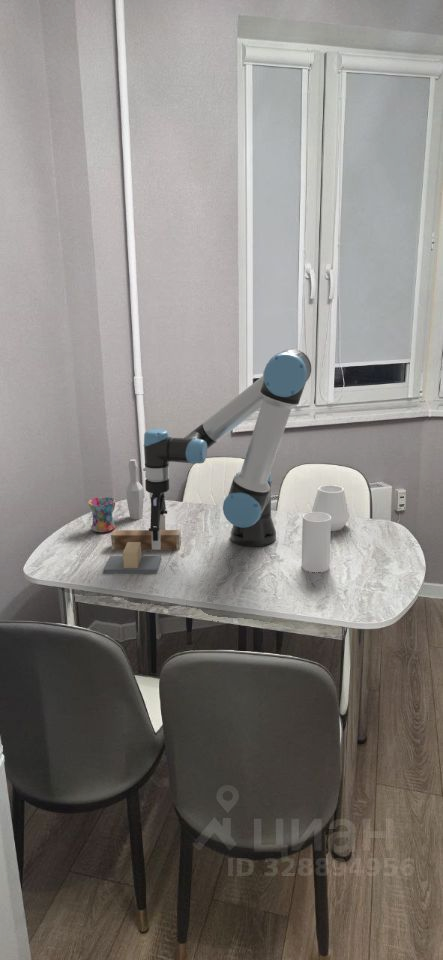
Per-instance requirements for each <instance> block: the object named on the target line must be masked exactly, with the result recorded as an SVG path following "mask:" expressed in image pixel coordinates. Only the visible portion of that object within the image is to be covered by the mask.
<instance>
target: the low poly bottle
mask: <svg viewBox="0 0 443 960" xmlns="http://www.w3.org/2000/svg"><path fill="white" fill-rule="evenodd" d="M138 465H139V464H138V461H137V459H133V458H132V459H130V460H129V463H128V469H129V480H130V481H129V483H128V485H127V486H126V487H125V489H126V490H125V491H126V502H127V503H126V504H127V507H128V513H129V519H130V520H140V519H142V518H143V515H144V514H143V512H144V511H143V510H144V488H143V485H142V484H141V483H140V482H139V473H138V470H139V468H138V467H139V466H138Z"/></svg>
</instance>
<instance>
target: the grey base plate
mask: <svg viewBox="0 0 443 960" xmlns="http://www.w3.org/2000/svg"><path fill="white" fill-rule="evenodd" d="M161 562H162V555H142V550H141V542H127V545H126V547H125V549H124V550H122V555H110V556H109V557H108V558H107V561H106V563H105V565H104V567H103V569H102V571H103V574H158V571H159V568H160V566H161Z"/></svg>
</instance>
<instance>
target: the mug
mask: <svg viewBox="0 0 443 960" xmlns="http://www.w3.org/2000/svg"><path fill="white" fill-rule="evenodd" d="M87 504H88V506H89V509H90V510H91V513H92V525H91V528H90V529H91V530H92V531H93V532H95V533H107V532H111V531H113V530H116V529H115V528H116V524H115V522H114V518H113V517H114V516H113V512H114V510H115V506H116V499H115V498H113V497H111V496H110V497H109V496H100V497H99V496H98V497H94V498H92V499H89V500H88V501H87Z"/></svg>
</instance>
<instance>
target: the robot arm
mask: <svg viewBox="0 0 443 960" xmlns="http://www.w3.org/2000/svg"><path fill="white" fill-rule="evenodd" d="M311 374H312V363H311V361H310V358H309V356H308V355H307V354H306V353H305V352H303V351H301V350H299V349H296V348H288V349H285V350H283V351H281V352H278V353H277V354H274V355H273V356H272V357H271V358H270V359H269V360H268V362H267V363H266V364H265V368H264V370H263V371H262V376H260V377H259V378H258V379H257V380H256V381H254V382H253V383H252V384H251V385H249V386H248V387H246V389H244V390H243V391H242V392H241V393H239V394H238V395H237V396H235V397H234V398H233V399H232V400H230V401H229V402H227V403H226V404H225V405H224V406H223V407H221V408H220V409H219V410H217V412H215V413H214V414H213V415H212V416H210V417H209V418H207V419H206V420H205V421H204V422H203V423H201V424H200V425H198V426H197V427H196V428H195V429H193V430H192V431H191V432H190V433H189V434H187V435H186V436H184V437H171V436H170V435H169V432H168V431H167V430H166V429H162V428H156V429H155V428H154V429H153V428H152V429H148V430H146V431H145V432H144V434H143V451H144V453H143V455H144V468H142V470H143V472H144V474H145V476H144V478H145V480H144V483H145V484H144V486H145V487H144V488H145V491H146V492H147V493H150V494H152V495H151V497H150V528H148V530H149V531H151V539H152V550H153V551H155V550H160V549H161V543H160V530H167V529H166V515H167V514H168V510H166V509H167V508H166V500H165V493H166V492H168V491H169V490H170V479H169V477H170V465H169V464H170V462H173V463H183V464H184V463H185V464H191V465H195V464H204V463H205V462H206V459H207V456H208V449H210V448H211V447H212V446H214V444H216V443H218V441H220V440H221V439H222V438H223V437H225V436H226V435H228V434H229V433H230V432H231V431H233V430H234V429H236V427H238V426H239V425H241V424H242V423H243V422H245V421H246V420H247V419H249V418H250V417H251V416H252V415H253V414H255V413H257V412H258V411H259V413H258V416H257V418H256V421H255V424H254V425H255V426H254V428H253V430H252V431H253V432H252V435H251V438H250V441H249V445H248V447H247V451H246V453H245V456H244V460H243V463H242V466H241V469H240V470H241V471H238V472H236V474H235V475H234V476H233V478H232V481H231V484H230V488H229V491H228V494H227V496H226V497H225V498H224V500H223V504H222V513H223V515H224V517H225V518H226V521H228V523H230V524H231V525H232V528H231V531H230V539H231V541H232V542H233V543H235V544H237V545H239V546H246V547H262V546H264V547H265V546H268V545H271V544H273V543H275V541H276V539H277V530H276V528H275V525H274V522H273V518H272V483H273V481H272V476H271V472H272V469H273V465H274V462H275V459H276V456H277V452H278V451H279V447H280V445H281V442H282V439H283V436H284V432H285V429H286V426H287V424H288V420H289V416H290V414H291V412H292V409H294V407H296V406H299V403H300V401H301V398H302V395H303V392H304V389H305V386H306V384H307V382H308V380H309V379H310V377H311ZM160 551H161V550H160Z"/></svg>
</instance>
